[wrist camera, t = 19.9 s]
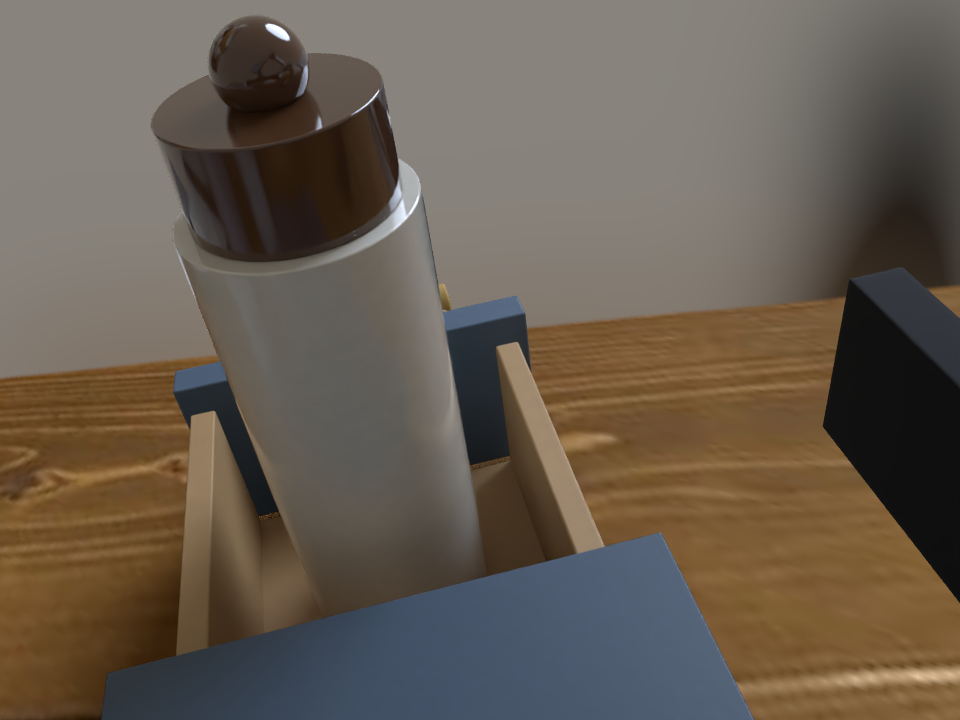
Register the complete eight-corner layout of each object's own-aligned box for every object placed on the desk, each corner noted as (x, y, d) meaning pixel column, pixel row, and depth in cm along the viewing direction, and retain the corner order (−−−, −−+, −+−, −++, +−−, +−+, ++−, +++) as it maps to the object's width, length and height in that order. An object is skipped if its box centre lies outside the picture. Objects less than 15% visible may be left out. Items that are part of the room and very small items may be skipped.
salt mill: (471, 510, 31) (370, -43, 19) (508, 643, 27) (408, 35, 15) (315, 548, 31) (115, 2, 19) (328, 691, 26) (78, 98, 15)
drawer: (232, 421, 38) (181, 295, 34) (503, 358, 39) (487, 229, 35) (228, 915, 23) (135, 797, 19) (673, 788, 24) (680, 651, 20)
